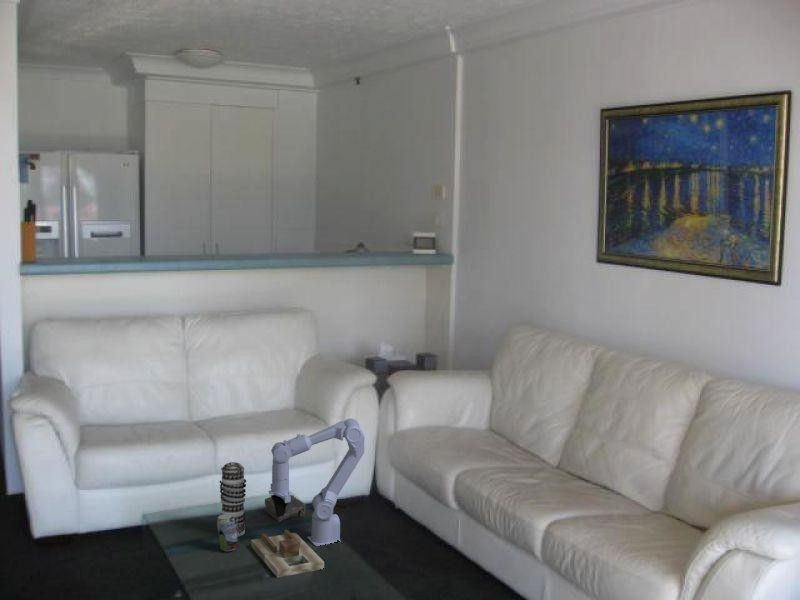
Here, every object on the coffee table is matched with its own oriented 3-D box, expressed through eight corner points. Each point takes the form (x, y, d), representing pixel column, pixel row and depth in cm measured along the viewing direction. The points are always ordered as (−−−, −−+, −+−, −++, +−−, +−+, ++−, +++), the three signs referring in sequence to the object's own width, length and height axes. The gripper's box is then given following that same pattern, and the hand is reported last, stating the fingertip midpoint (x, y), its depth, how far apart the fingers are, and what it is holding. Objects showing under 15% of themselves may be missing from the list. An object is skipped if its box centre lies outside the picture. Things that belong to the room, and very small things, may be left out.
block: (293, 549, 323) (293, 538, 322) (299, 555, 318) (299, 544, 318) (279, 552, 320) (279, 540, 320) (284, 558, 316) (284, 546, 315)
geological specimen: (279, 510, 350) (262, 495, 363) (279, 526, 352) (262, 510, 364) (306, 504, 356) (288, 489, 368) (306, 519, 357) (287, 504, 370)
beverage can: (234, 554, 324) (234, 520, 322) (213, 551, 325) (213, 518, 323) (241, 546, 330) (241, 513, 328) (220, 544, 331) (220, 511, 329)
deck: (295, 539, 337) (295, 527, 337) (324, 568, 315) (324, 556, 314) (251, 546, 330) (251, 534, 329) (277, 577, 307) (277, 564, 307)
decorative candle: (243, 538, 337) (243, 469, 333) (217, 537, 337) (217, 468, 333) (248, 527, 346) (248, 460, 342) (222, 527, 346) (222, 459, 342)
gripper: (262, 472, 334) (262, 510, 337) (276, 486, 322) (276, 525, 324) (281, 470, 338) (281, 507, 340) (296, 483, 325) (296, 521, 327)
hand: (280, 515), depth 332 cm, fingers closed
